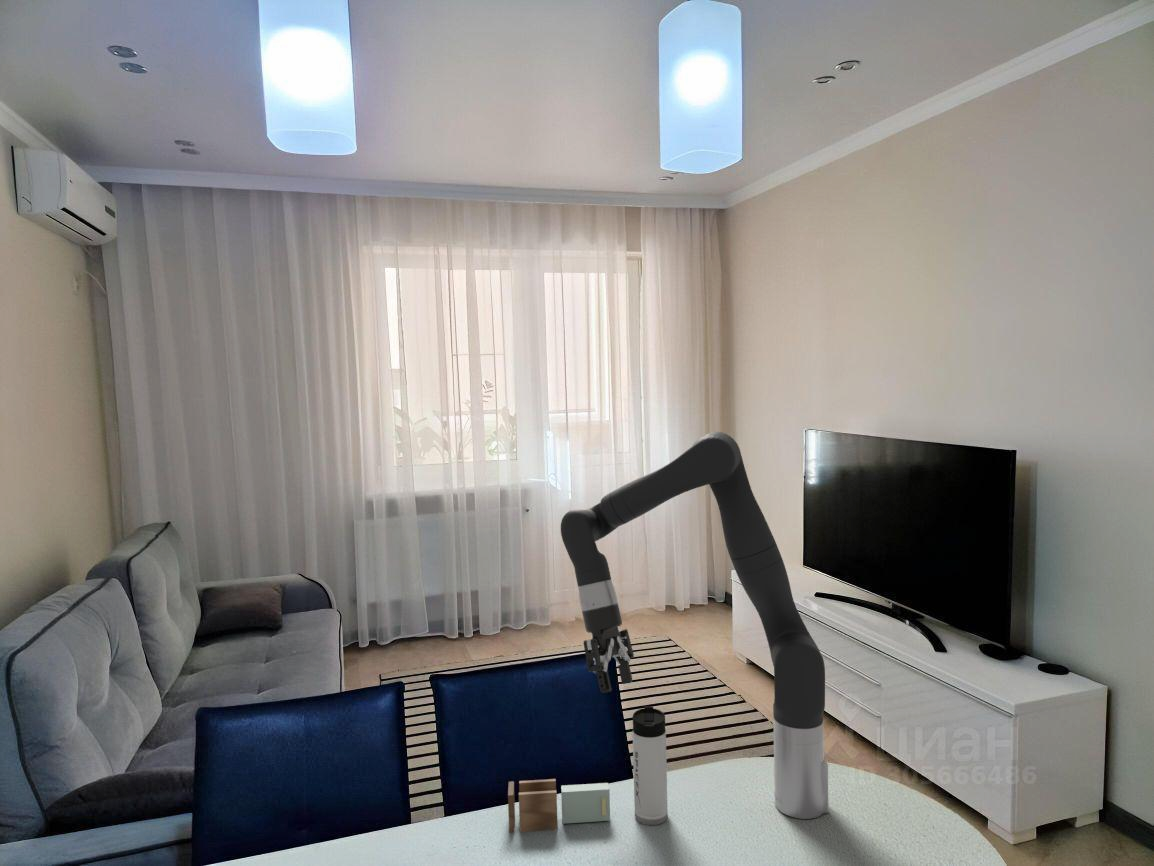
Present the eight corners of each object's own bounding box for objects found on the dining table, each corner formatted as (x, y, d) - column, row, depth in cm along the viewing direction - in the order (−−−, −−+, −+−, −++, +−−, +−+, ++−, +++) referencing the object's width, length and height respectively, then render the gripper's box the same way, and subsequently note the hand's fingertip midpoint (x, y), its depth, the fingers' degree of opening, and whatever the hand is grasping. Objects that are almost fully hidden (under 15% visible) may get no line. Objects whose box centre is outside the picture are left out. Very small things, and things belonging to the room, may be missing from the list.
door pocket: (556, 814, 141) (555, 778, 141) (557, 829, 136) (556, 792, 136) (509, 817, 141) (508, 781, 140) (509, 832, 136) (507, 795, 135)
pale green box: (608, 813, 140) (608, 782, 140) (610, 822, 138) (609, 791, 137) (562, 816, 140) (561, 785, 140) (562, 825, 137) (561, 793, 137)
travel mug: (667, 807, 143) (664, 706, 142) (668, 826, 136) (665, 720, 136) (635, 806, 143) (632, 705, 143) (634, 825, 137) (631, 720, 136)
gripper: (596, 606, 141) (615, 693, 138) (631, 598, 153) (649, 677, 150) (565, 613, 145) (582, 697, 141) (602, 604, 157) (618, 682, 153)
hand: (617, 687), depth 146 cm, fingers open, 8 cm apart
